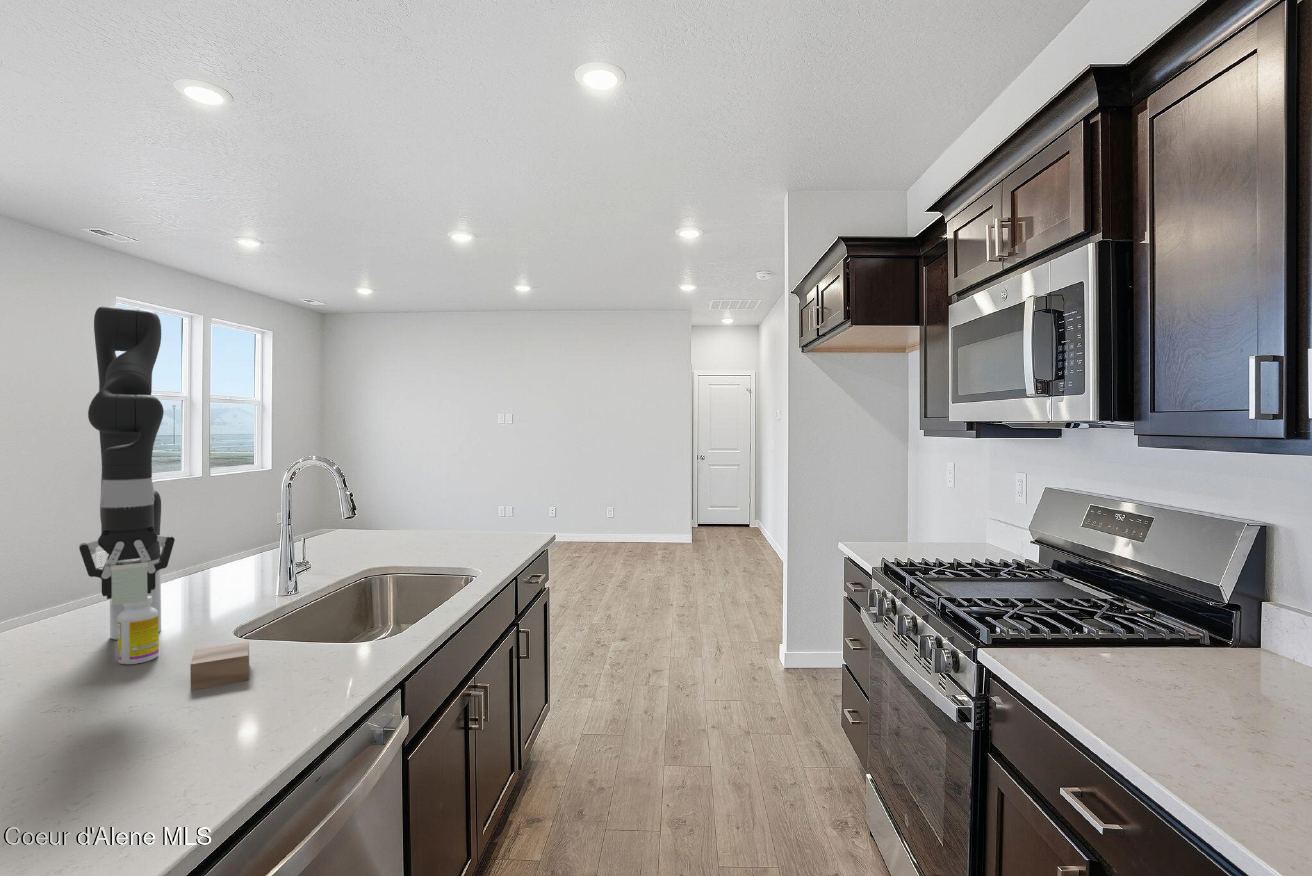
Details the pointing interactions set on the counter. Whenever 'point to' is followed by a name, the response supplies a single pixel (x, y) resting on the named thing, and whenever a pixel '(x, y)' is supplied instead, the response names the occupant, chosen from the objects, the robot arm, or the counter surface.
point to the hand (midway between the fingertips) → (128, 594)
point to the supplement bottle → (138, 633)
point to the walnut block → (219, 665)
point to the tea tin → (128, 581)
